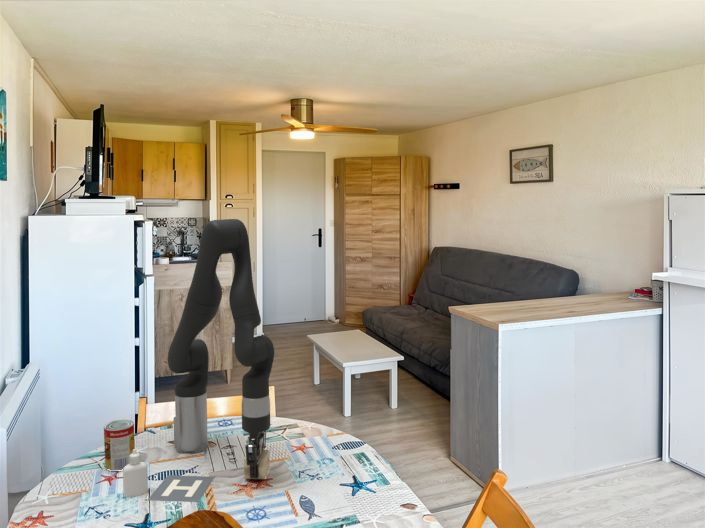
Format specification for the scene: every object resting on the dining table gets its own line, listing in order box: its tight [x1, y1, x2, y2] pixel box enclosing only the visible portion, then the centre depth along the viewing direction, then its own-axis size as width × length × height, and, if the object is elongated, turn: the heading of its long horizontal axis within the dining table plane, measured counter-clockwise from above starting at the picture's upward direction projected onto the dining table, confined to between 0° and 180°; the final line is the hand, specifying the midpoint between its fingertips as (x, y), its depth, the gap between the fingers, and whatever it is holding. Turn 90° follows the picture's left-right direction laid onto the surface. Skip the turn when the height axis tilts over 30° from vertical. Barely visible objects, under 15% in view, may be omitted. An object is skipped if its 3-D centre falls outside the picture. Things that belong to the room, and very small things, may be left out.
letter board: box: [147, 474, 216, 503], centre depth 141 cm, size 13×13×1 cm
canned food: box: [103, 418, 136, 470], centre depth 154 cm, size 8×8×12 cm
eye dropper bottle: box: [122, 448, 149, 498], centre depth 138 cm, size 4×6×12 cm
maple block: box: [243, 449, 270, 480], centre depth 146 cm, size 6×6×6 cm
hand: (256, 472), depth 147 cm, fingers closed on maple block, 5 cm apart
